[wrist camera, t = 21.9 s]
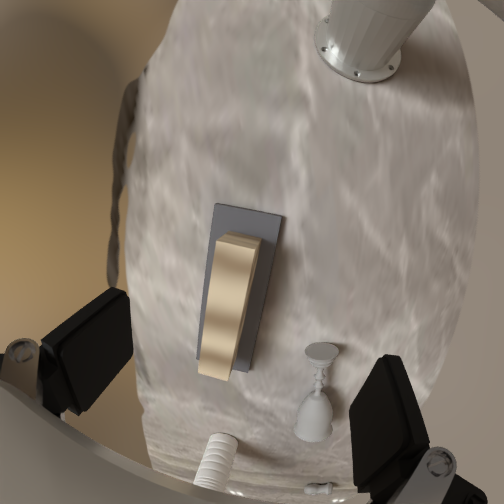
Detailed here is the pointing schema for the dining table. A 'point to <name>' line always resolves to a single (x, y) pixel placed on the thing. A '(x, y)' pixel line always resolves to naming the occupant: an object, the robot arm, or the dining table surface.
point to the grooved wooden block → (227, 302)
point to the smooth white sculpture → (318, 489)
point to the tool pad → (268, 231)
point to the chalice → (316, 397)
